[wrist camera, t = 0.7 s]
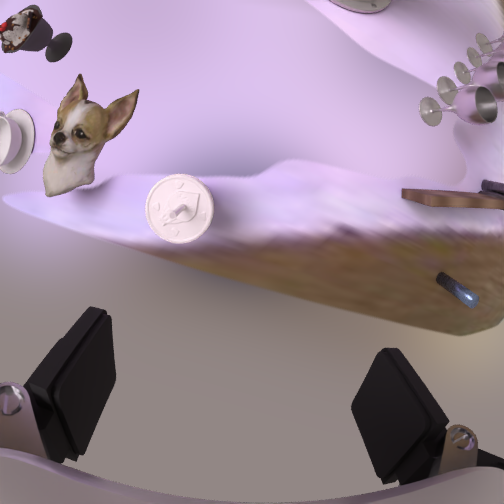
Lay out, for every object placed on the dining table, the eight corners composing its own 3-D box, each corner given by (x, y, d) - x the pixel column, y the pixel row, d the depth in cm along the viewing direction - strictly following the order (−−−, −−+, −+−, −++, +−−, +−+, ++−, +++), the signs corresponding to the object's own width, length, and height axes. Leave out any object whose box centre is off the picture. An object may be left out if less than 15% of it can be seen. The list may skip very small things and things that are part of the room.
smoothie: (230, 202, 35) (226, 229, 22) (188, 232, 36) (161, 275, 23) (199, 159, 34) (175, 159, 20) (157, 191, 34) (113, 211, 21)
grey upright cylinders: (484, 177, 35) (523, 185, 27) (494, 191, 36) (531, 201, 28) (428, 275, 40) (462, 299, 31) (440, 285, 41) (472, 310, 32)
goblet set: (433, 136, 34) (499, 137, 21) (410, 105, 32) (473, 92, 20) (497, 51, 28) (546, 41, 15) (479, 26, 27) (526, 10, 14)
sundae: (34, 59, 27) (-30, 38, 12) (61, 23, 25) (4, -12, 11) (56, 75, 28) (-12, 52, 14) (85, 36, 27) (26, -3, 13)
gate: (485, 191, 36) (519, 200, 28) (484, 203, 36) (517, 213, 29) (401, 185, 35) (436, 193, 28) (401, 200, 36) (435, 211, 28)
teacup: (41, 158, 32) (22, 159, 28) (1, 183, 32) (-18, 187, 28) (31, 97, 29) (12, 94, 24) (-9, 127, 29) (-27, 127, 25)
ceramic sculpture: (9, 183, 24) (54, 59, 21) (46, 179, 33) (85, 78, 30) (74, 215, 26) (128, 76, 23) (105, 205, 35) (149, 96, 32)
